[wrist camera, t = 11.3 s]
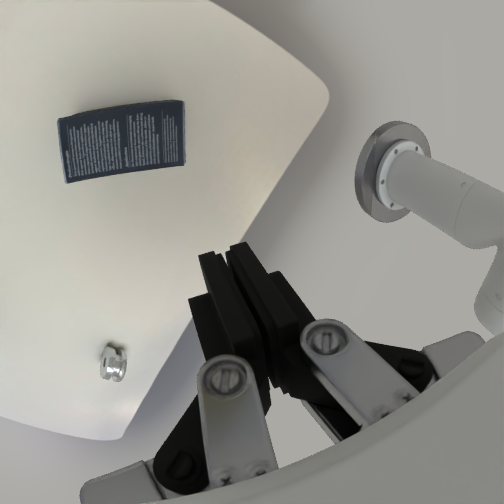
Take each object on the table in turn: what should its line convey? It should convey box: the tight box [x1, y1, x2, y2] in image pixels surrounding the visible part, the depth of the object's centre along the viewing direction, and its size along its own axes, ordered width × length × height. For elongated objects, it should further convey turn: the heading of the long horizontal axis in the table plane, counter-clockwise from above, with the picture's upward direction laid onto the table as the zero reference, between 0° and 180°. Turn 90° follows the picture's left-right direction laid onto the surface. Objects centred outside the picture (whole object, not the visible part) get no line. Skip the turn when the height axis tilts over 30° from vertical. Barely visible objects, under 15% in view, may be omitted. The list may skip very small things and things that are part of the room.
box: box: [57, 100, 186, 184], centre depth 23 cm, size 8×6×11 cm
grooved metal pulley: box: [100, 346, 127, 382], centre depth 38 cm, size 5×3×5 cm, turn 142°
